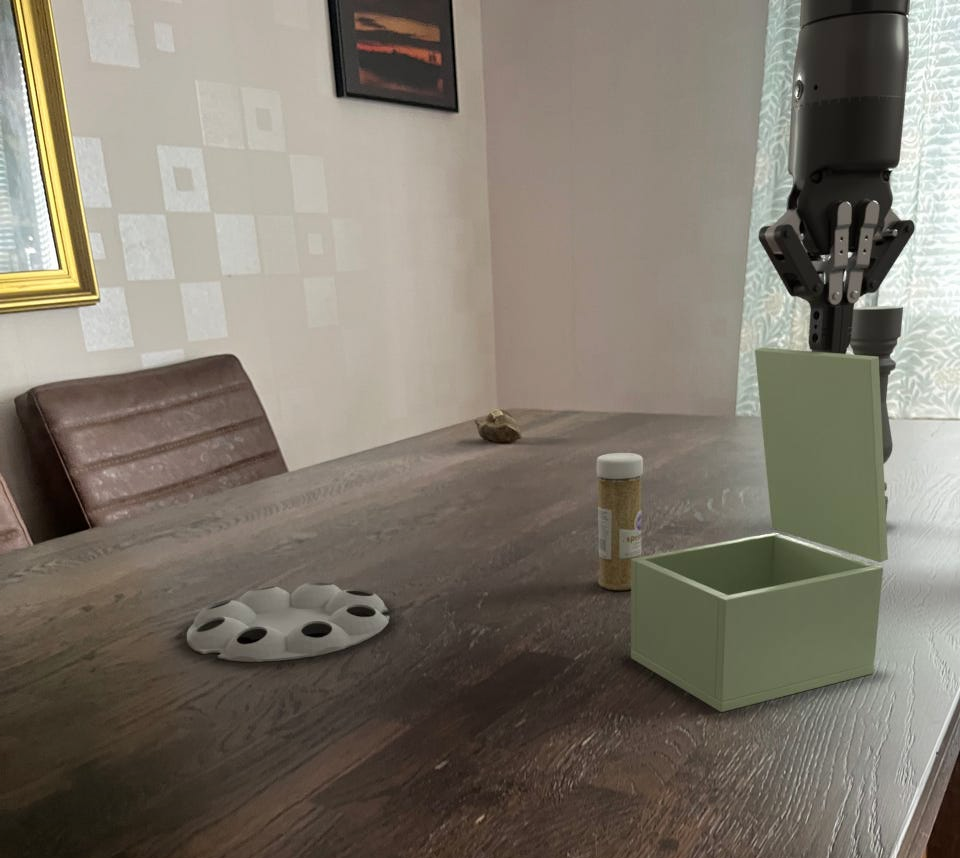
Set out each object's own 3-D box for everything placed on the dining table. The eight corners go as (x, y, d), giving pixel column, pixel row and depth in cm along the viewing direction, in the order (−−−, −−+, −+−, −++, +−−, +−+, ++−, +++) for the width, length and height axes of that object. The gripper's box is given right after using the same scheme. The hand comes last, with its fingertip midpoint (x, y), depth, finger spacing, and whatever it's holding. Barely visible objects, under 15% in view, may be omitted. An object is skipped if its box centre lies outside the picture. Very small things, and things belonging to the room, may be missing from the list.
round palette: (424, 630, 94) (422, 610, 93) (219, 679, 85) (215, 657, 84) (344, 581, 110) (342, 564, 109) (164, 618, 101) (161, 599, 101)
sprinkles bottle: (641, 591, 101) (642, 459, 97) (596, 592, 102) (595, 460, 97) (642, 578, 106) (642, 451, 101) (598, 578, 106) (597, 452, 102)
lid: (870, 359, 69) (879, 356, 70) (754, 349, 80) (762, 347, 81) (880, 563, 76) (888, 559, 76) (771, 528, 87) (779, 525, 87)
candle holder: (880, 532, 117) (900, 308, 108) (825, 528, 120) (841, 310, 112) (890, 520, 122) (910, 305, 113) (838, 516, 125) (854, 306, 117)
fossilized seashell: (464, 427, 193) (487, 443, 185) (481, 397, 192) (505, 411, 184) (493, 443, 197) (517, 459, 190) (510, 413, 196) (534, 427, 188)
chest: (721, 712, 74) (725, 599, 71) (630, 658, 85) (630, 558, 82) (873, 673, 79) (883, 566, 76) (770, 627, 90) (775, 532, 87)
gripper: (808, 88, 64) (791, 367, 70) (961, 92, 69) (933, 352, 75) (736, 107, 71) (726, 360, 77) (880, 108, 75) (860, 347, 81)
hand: (828, 356), depth 76 cm, fingers closed
